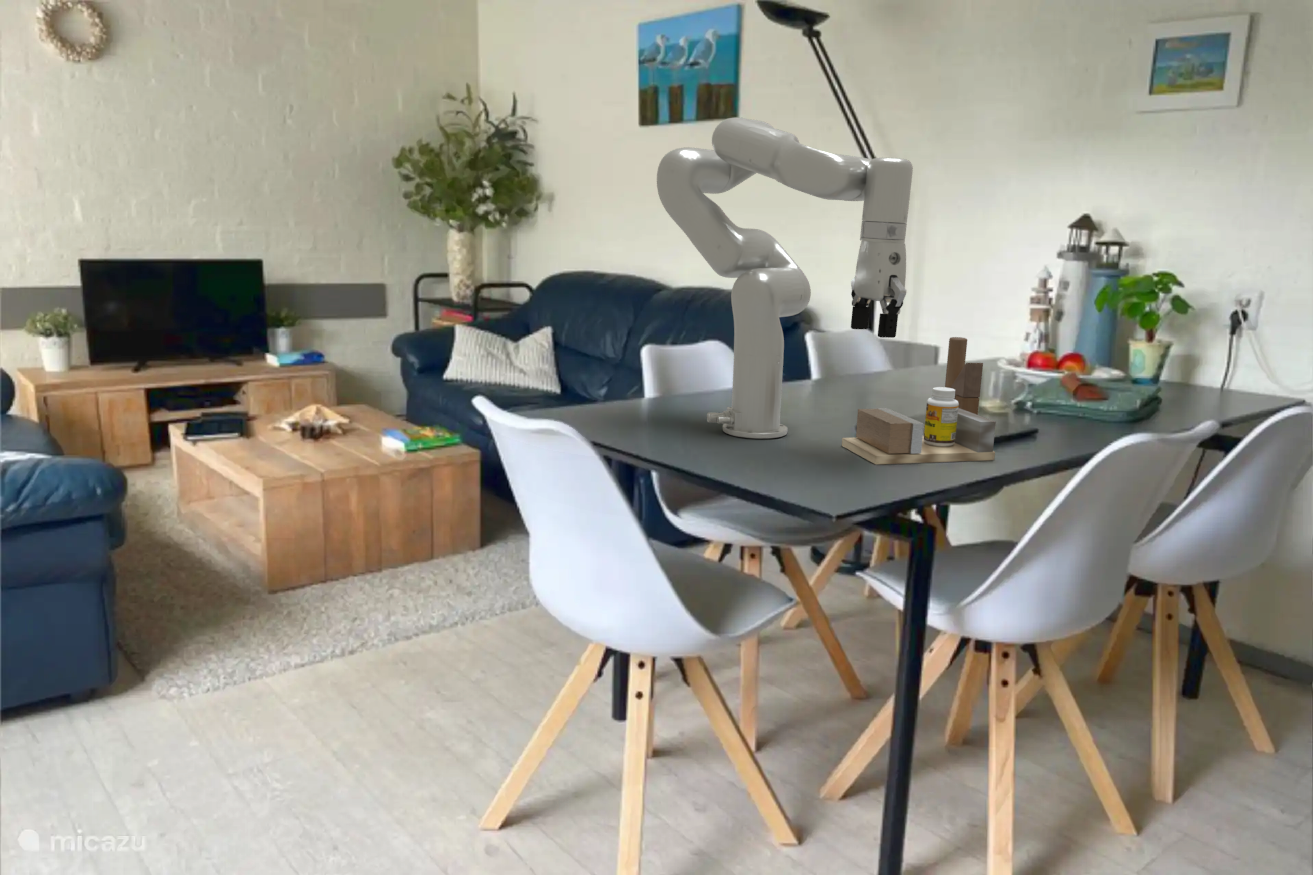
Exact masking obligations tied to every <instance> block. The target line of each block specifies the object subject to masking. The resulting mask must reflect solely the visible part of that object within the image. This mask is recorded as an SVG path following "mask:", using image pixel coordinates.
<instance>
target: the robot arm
mask: <svg viewBox="0 0 1313 875" xmlns="http://www.w3.org/2000/svg"><path fill="white" fill-rule="evenodd" d="M711 144H712V145H711V146H712V148H713V149H707V148H699V147H689V146H688V147H679V148H675V149H672V150H670V151H668V152H667V153H666V154H664V156H663V157H662V158H661V160H660V162H659V165H658V166H657V173H656V188H657V193H658V197H659V199H660V203H661V205H662V207H663V208H664V210H665V212H666V213H667V214H668V215H669V217H670V218H671V219H672V221H674V223H675V225H677V226H678V227H679V228H680V230H682V232H683V233H684V234H685V235H686V237H687V238H688V239H689V241H690V242H691V243H692V245H693V246H694V247H695V249H696V250H697V251H698V252H699V254H700V256H702V257H703V259H704V260H705V261H706V263H707V264H708V265H709V266H710V267H711V269H712V270H713V271H714V272H715V273H716V274H717V275H719V276H720V277H722V278H728V279H735V282H733V285H732V289H731V297H730V299H731V300H730V301H731V307H732V308H731V310H732V315H733V316H732V317H733V328H734V331H733V332H734V336H733V369H732V387H731V388H732V390H731V391H732V392H731V406H727V407H726V410H723V411H722V412H707V414H706V421H707V423H717V424H719V425H721V424H722V431H723V432H724V433H725V434H728V435H730V436H734V437H737V438H746V439H761V440H762V439H775V438H777V439H778V438H782V437H784V436H786V435H787V434H788V426H786V425H784V424H782V423H781V409H782V408H781V406H782V392H783V390H782V389H783V371H784V367H783V366H784V353H785V352H784V350H785V340H784V339H785V338H784V331H783V328H782V324H781V320H780V318H785V317H791V316H795V315H798V314H800V313H801V312H803V311H805V309H806V308H807V306H808V305H809V303H810V300H811V295H812V290H811V284H810V281H809V279H808V278H807V276H806V274H805V272H804V271H803V270H802V269H801V268H800V266H799V265H798V264H797V263H796V262H795V260H794V259H793V257H791V255H790V254H789V253H788V252H787V251H786V250H785V248H784V247H783V246H782V245H781V243H780V242H779V241H778V240H777V239H776V238H775V237H774V236H772V235H771V234H770V233H768V232H767V231H765V230H762V229H758V228H749V227H748V228H744V227H740V226H737V224H735V223H734V222H733V221H732V220H731V219H730V217H728V216H727V214H726V213H725V212H724V210H723V209H722V208H721V207H720V206H719V205H718V204H717V203H716V202H715V201H713V200H712V199H711V198H709V197H708V196H707V195H706V194H711V195H714V194H715V195H719V194H723V193H726V192H729V191H730V190H732V189H733V188H735V187H737V186H739V185H740V184H742V183H744V181H747V180H748V179H750V178H751V177H752V176H754V175H756V174H758V175H761V176H764V177H767V178H770V179H772V180H775V181H776V182H778V183H780V184H782V185H784V186H785V187H787V188H790V189H793V190H795V191H799V192H802V193H805V194H807V195H809V196H813V197H816V198H819V199H823V200H831V201H845V202H863V205H862V206H863V207H862V216H861V226H860V236H859V240H860V241H861V242H860V245H859V249H858V253H857V254H858V256H857V260H856V265H855V266H856V267H855V275H854V277H853V278H852V279H851V281H850V286H851V292H850V294H851V298H852V300H851V306H852V310H851V311H852V312H851V322H850V328H851V329H852V330H868V328H869V321H870V311H871V307H870V306H869V304H870V303H871V301H873V302H874V301H875V302H879V303H880V304H879V305H880V308H881V311H882V313H879V318H878V319H879V320H878V329H877V337H878V338H881V339H882V338H888V339H889V338H890V339H891V338H892V339H893V338H896V336H897V328H898V321H899V315H900V314H901V308H902V307H903V305H904V301H905V297H906V295H907V289H906V279H907V278H906V275H907V250H906V233H907V228H908V227H907V225H908V224H907V223H908V215H909V207H910V206H909V205H910V198H911V192H912V191H911V189H912V182H913V181H912V180H913V173H914V172H913V171H914V170H913V169H914V168H913V167H914V166H913V164H912V162H911V161H910V160H908V159H906V158H900V157H899V158H898V157H875V158H874V157H873V158H872V159H871V158H868V157H867V158H866V157H862V156H853V155H846V154H838V153H833V152H828V151H825V150H821V149H818V148H816V147H811V146H808V145H805V144H803V143H800V140H799V139H798V137H797V135H795V134H794V133H792V132H789V131H784V130H781V129H778V128H775V127H774V126H772V125H771V124H770V123H768V122H767V121H762V120H757V119H750V118H743V117H728V118H726V119H724V120H722V121H721V122H720V123H718V124H717V126H716V127H715V129H714V130H713V132H712V136H711Z"/></svg>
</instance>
